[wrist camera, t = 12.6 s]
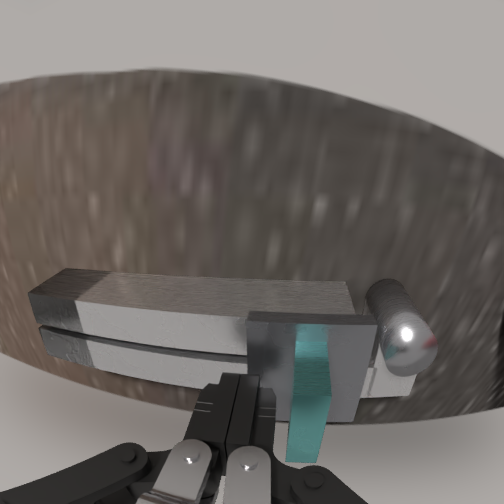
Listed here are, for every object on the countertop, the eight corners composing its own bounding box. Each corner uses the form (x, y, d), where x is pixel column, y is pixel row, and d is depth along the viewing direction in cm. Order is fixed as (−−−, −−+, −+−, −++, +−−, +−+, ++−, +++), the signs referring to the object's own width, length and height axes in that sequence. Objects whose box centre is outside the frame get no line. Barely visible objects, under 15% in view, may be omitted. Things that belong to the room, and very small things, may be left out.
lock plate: (373, 314, 12) (395, 375, 8) (351, 410, 14) (358, 471, 10) (249, 310, 13) (230, 371, 9) (250, 406, 14) (237, 467, 11)
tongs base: (409, 279, 16) (444, 330, 11) (392, 351, 17) (414, 411, 12) (64, 262, 19) (12, 295, 14) (79, 324, 20) (37, 364, 15)
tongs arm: (345, 281, 16) (357, 320, 13) (341, 314, 17) (350, 358, 13) (65, 268, 19) (27, 293, 15) (71, 295, 19) (36, 322, 16)
